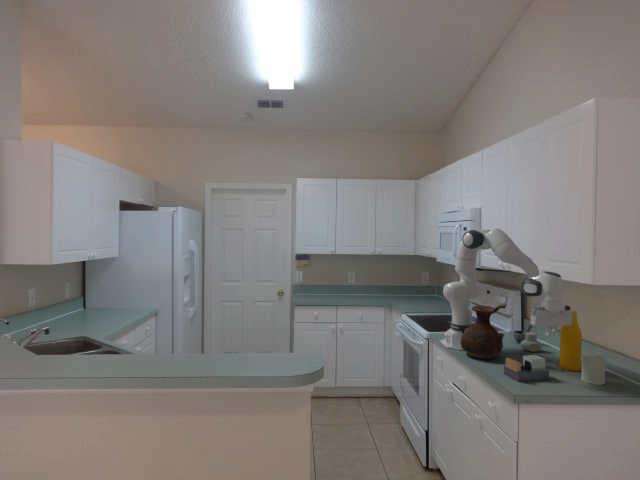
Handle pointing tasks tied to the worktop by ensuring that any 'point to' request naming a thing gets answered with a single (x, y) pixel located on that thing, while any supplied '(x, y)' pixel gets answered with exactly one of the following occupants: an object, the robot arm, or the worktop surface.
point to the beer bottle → (570, 345)
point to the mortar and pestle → (521, 334)
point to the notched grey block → (534, 362)
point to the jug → (483, 334)
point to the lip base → (523, 371)
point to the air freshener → (530, 342)
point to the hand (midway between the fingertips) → (550, 335)
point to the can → (593, 369)
